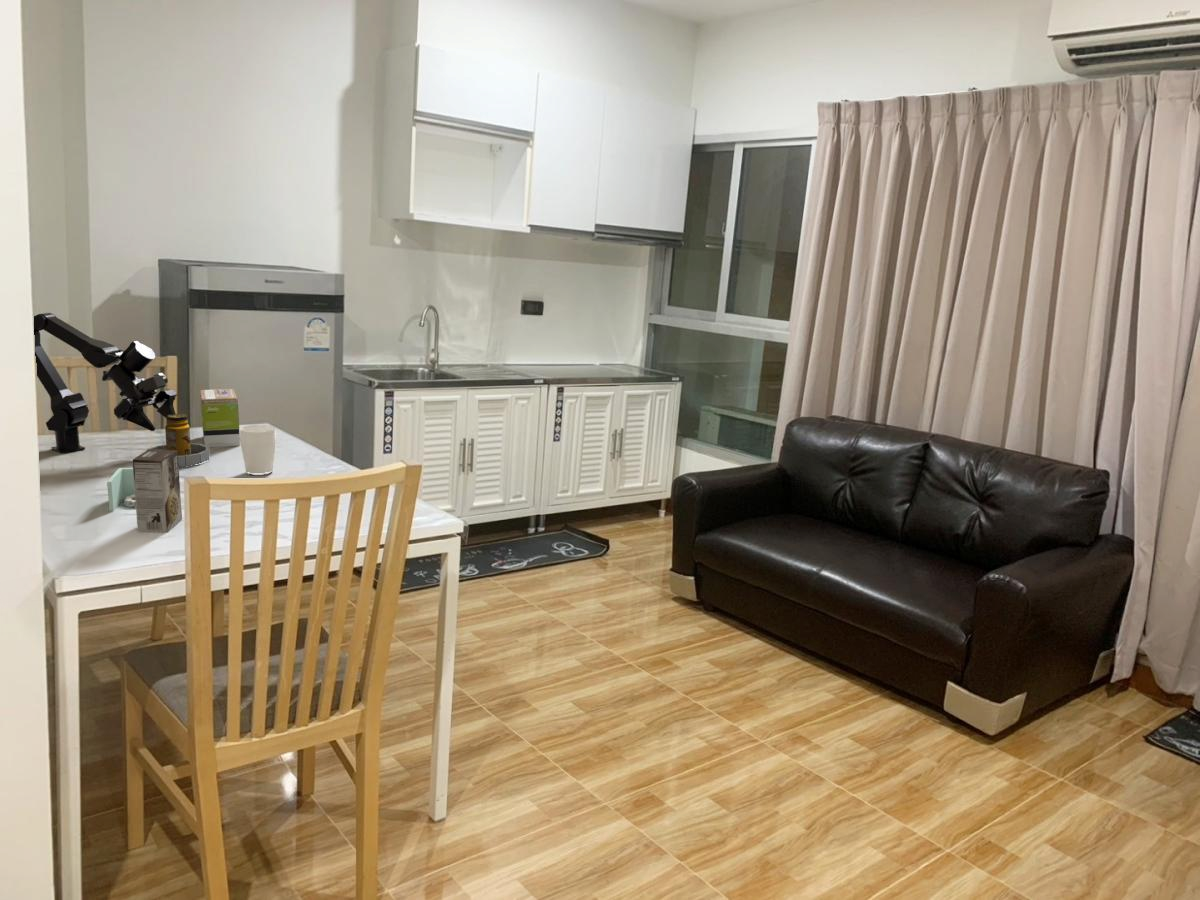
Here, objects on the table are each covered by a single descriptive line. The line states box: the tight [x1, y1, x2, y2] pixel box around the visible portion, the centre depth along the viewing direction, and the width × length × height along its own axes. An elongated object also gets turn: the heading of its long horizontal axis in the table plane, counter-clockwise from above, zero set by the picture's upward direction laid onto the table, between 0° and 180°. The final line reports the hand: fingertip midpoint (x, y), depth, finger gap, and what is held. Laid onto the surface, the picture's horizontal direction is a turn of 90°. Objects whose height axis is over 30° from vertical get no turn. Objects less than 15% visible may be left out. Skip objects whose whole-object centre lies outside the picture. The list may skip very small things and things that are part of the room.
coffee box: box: [132, 448, 183, 534], centre depth 197 cm, size 9×6×16 cm
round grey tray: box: [146, 442, 210, 468], centre depth 251 cm, size 16×16×3 cm
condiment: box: [164, 413, 191, 456], centre depth 249 cm, size 7×8×12 cm
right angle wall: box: [106, 467, 136, 513], centre depth 213 cm, size 12×12×8 cm
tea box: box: [199, 388, 241, 448], centre depth 273 cm, size 15×10×15 cm
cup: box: [239, 424, 277, 473], centre depth 242 cm, size 9×9×12 cm
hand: (165, 427), depth 250 cm, fingers open, 9 cm apart
